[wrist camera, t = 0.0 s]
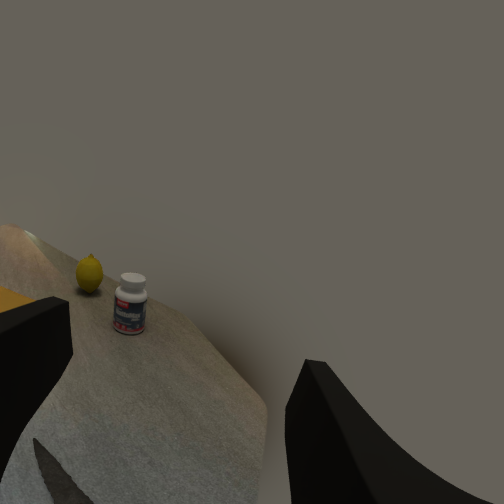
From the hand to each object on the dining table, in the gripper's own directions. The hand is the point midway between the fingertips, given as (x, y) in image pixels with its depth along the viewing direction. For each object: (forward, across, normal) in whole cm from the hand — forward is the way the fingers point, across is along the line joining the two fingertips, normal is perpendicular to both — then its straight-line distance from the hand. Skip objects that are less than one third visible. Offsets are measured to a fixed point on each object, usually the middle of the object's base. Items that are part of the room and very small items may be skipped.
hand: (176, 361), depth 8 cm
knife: (+1, +8, +21) cm, 23 cm away
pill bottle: (+34, +14, +24) cm, 44 cm away
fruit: (+42, +26, +25) cm, 55 cm away
